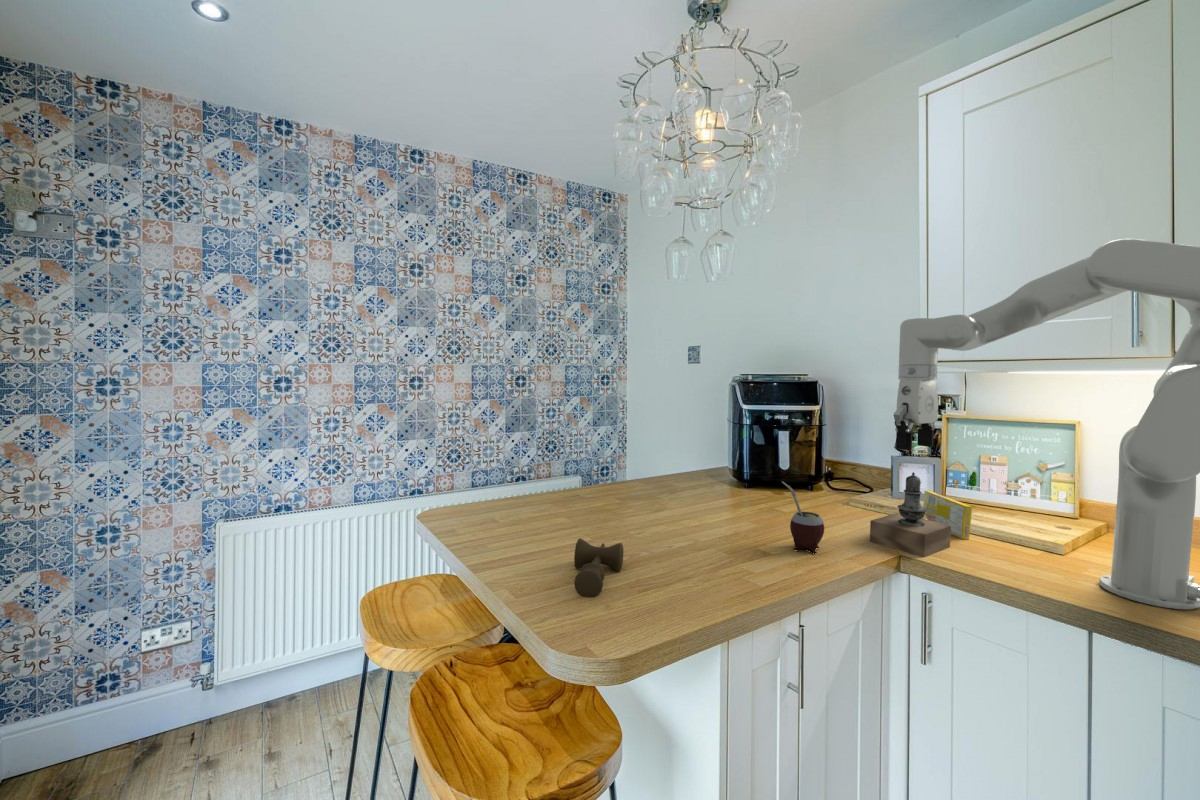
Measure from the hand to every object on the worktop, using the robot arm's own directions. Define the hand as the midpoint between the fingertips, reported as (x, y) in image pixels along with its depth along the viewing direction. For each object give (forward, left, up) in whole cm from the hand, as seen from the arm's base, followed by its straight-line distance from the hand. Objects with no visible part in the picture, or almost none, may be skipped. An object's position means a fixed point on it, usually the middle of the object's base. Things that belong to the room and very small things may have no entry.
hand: (914, 447), depth 118 cm
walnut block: (0, 0, -23) cm, 23 cm away
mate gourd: (+11, +24, -23) cm, 35 cm away
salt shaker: (0, 0, -18) cm, 18 cm away
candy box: (+1, -20, -23) cm, 31 cm away
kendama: (+24, +72, -23) cm, 79 cm away
